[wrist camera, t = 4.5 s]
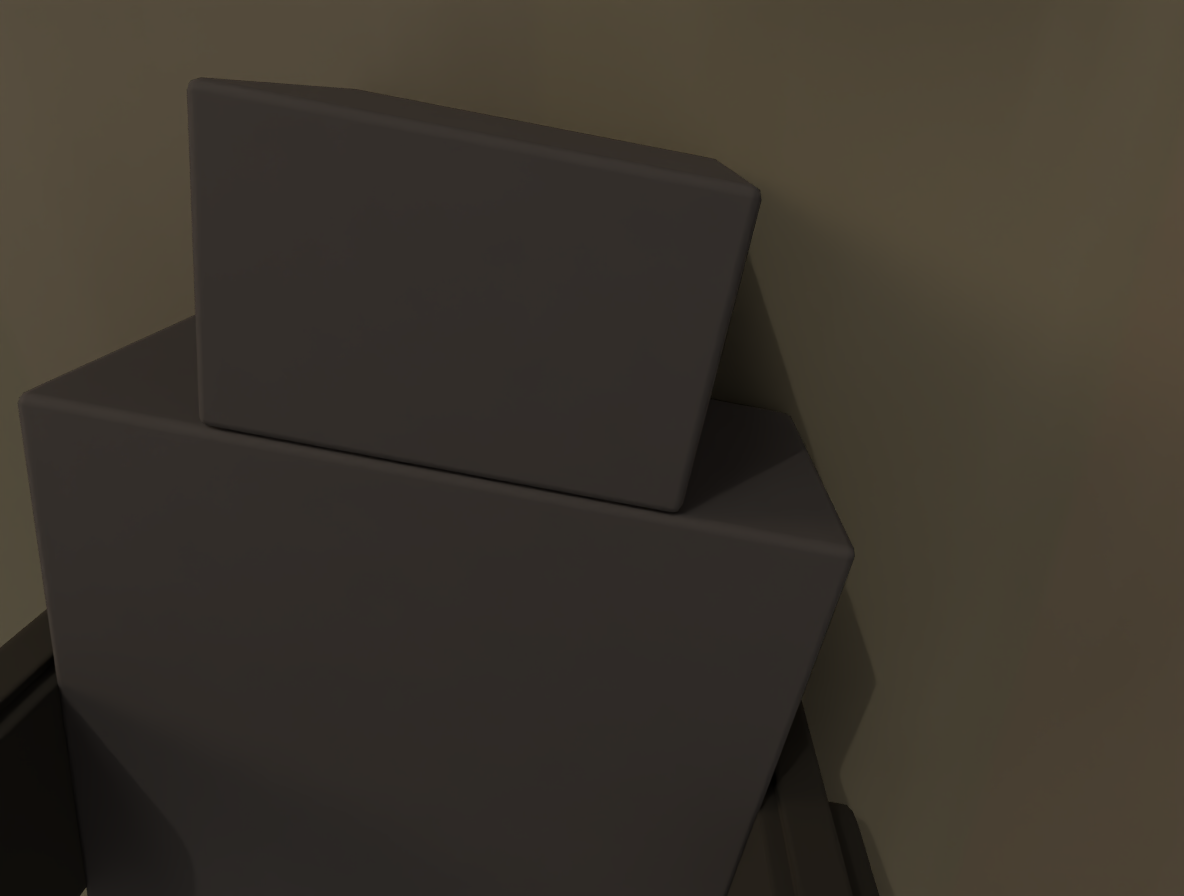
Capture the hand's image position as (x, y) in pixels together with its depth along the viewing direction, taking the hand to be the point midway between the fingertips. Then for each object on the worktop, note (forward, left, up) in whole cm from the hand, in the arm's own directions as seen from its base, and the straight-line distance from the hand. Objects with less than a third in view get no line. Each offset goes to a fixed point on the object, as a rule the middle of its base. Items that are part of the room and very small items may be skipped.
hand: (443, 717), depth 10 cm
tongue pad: (+1, -1, -1) cm, 2 cm away
